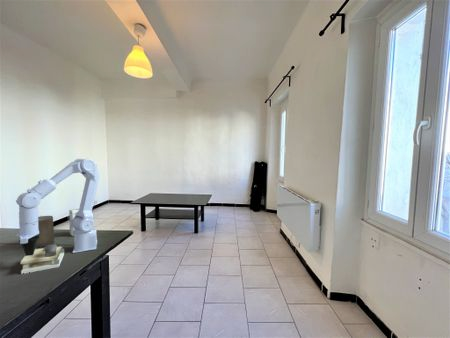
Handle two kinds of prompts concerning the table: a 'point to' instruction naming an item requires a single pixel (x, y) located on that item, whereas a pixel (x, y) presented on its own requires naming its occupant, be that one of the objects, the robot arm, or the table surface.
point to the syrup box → (71, 217)
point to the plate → (43, 254)
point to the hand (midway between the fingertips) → (30, 254)
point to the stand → (42, 264)
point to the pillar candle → (45, 231)
